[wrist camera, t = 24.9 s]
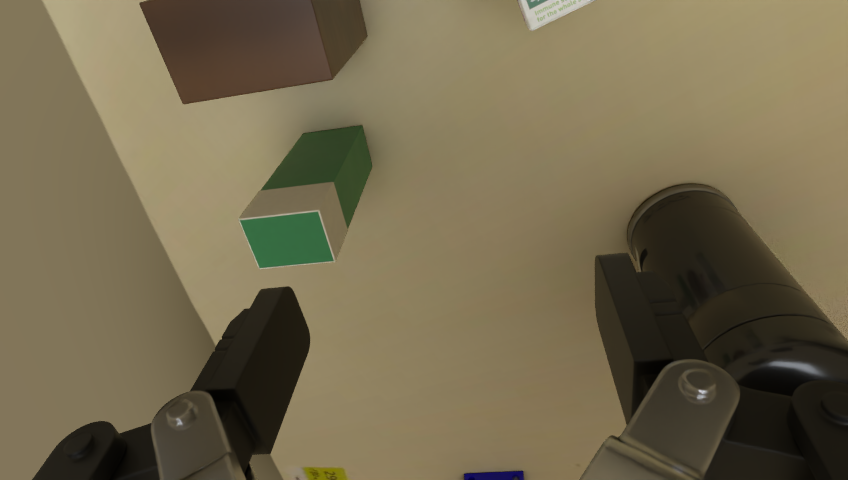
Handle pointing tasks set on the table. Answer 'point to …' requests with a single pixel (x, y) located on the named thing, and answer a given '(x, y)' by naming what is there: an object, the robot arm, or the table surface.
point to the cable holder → (495, 476)
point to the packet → (308, 200)
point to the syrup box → (547, 10)
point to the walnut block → (252, 43)
